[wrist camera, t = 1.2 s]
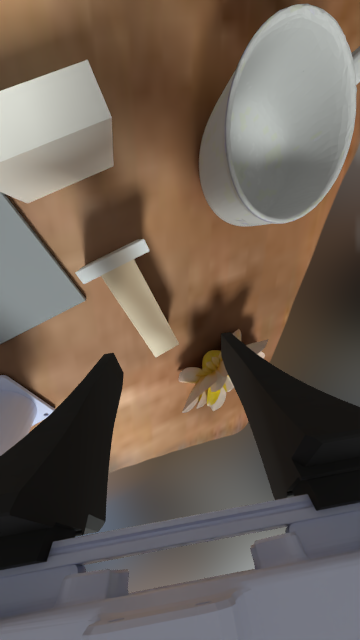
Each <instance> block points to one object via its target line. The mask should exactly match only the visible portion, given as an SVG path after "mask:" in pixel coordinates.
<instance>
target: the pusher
mask: <svg viewBox="0 0 360 640" xmlns="http://www.w3.org/2000/svg"><path fill="white" fill-rule="evenodd" d="M147 252H149V249H148V246H147V244H146V242H145V240H144V239H139V240H136V241H134V242H131V243H129V244H127V245H125V246H123V247H121V248H119V249H117V250H115V251H113V252H111V253H109V254H107V255H105V256H103V257H101V258H99V259H97V260H95V261H93V262H91V263H88V264H86V265H85V266H83V267H82V268H81V269H80V270H78V271H77V272H76V275H77V276H78V277H79V279H80V280H81V281H82V283H83V284H85V283H87V282H89V281H91V280H93V279H95V278H97V277H99V276H101V277H102V278H103V280H104V281H105V283H106V284H107V286H108V287H109V289H110V290H111V292H112V293H113V295H114V296H115V298H116V299H117V301H118V302H119V304H120V305H121V307H122V308H123V310H124V311H125V313H126V314H127V315H128V317H129V318H130V320H131V321H132V323H133V324H134V326H135V327H136V329H137V330H138V332H139V333H140V335H141V336H142V338H143V339H144V341H145V342H146V344H147V345H148V347H149V348H150V350H151V351H152V353H153V354H154V356H155V357H158V356H159V355H161V354H163V353H164V352H166V351H168V350H170V349H171V348H173V347H175V346H177V345H178V344H179V343H178V341H177V339H176V337H175V335H174V333H173V332H172V330H171V328H170V326H169V324H168V322H167V320H166V318H165V317H164V315H163V313H162V311H161V309H160V307H159V305H158V304H157V302H156V300H155V298H154V296H153V294H152V292H151V290H150V289H149V287H148V285H147V283H146V281H145V279H144V277H143V275H142V274H141V272H140V270H139V268H138V266H137V264H136V262H135V261H134V259H135V258H137V257H139V256H141V255H143V254H145V253H147Z"/></svg>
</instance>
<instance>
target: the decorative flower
mask: <svg viewBox="0 0 360 640" xmlns="http://www.w3.org/2000/svg"><path fill="white" fill-rule="evenodd" d="M233 335H234V336H235V337H237V338H238V339H239V340H240V341H241V331H240V329H238V330H236V331H235V332H234V333H233ZM267 342H268V340H264V341H261V342H256V343H251V344H248V345H246V346H247V347H248V348H250V349H251V350H252V351H254V352H255V353H256V354H258V355H259V356H260V357H262V358H263V359H264V357H265V354H264V353H263V352H261V351H262V350H263V349H264V348H265V346H266V344H267ZM179 382H185V383H196V385H195V386H194V388H193V389H192V391H191V393H190V395H189V397H188V399H187V402H186V404H185V407H184V409H183V411H182V413H185V412H189V411H190V410H191V409H192V408H193V407H194V406H195V404H196V403H197V402H198V404H197V408H200V407H202V406H203V405H204V404H205V403H206V402H207V406H210V407H211V409H212V410H213V411H215V410H217V409H218V408H220V407H221V406H222V405H223V403H224V401H225V397H226V392H230V391H231V390H232V389H233V388H234V386H233V384H232V382H231V379H230V377H229V375H228V373H227V371H226V369H225V366H224V363H223V360H222V357H221V351H218V350H211V351H209V352H207V353H206V354H205V355H204V357H203V361H202V370H201V369H200V368H195V367H189V368H186V369H184V370H182V372H181V373H180V375H179Z"/></svg>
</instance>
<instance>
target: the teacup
mask: <svg viewBox="0 0 360 640" xmlns="http://www.w3.org/2000/svg"><path fill="white" fill-rule="evenodd" d="M359 82H360V46H359V47H358V48H357V49H356V50H355V51H353V52H352V53H351V50H350V48H349V45H348V43H347V41H346V38H345V35H344V33H343V31H342V30H341V28H340V26H339V24H338V23H337V21H336V20H335V19H334V18H333V17H332V16H331V15H330V14H328V13H327V12H326V11H324V10H323V9H321V8H319V7H316V6H313V5H310V4H296V5H293V6H290V7H288V8H285V9H282V10H279V11H278V12H277V13H275V14H274V15H273V16H271V17H270V18H269V19H268V20H267V21H266V22H265V23H264V24H262V26H261V27H260V28H259V30H258V31H257V32H256V33H255V35H254V36H253V38H252V39H251V40H250V42H249V44H248V45H247V47H246V49H245V51H244V53H243V54H242V56H241V59H240V61H239V63H238V66H237V68H236V70H235V72H234V73H233V75H232V77H231V79H230V80H229V82H228V84H227V85H226V87H225V89H224V91H223V92H222V94H221V96H220V98H219V100H218V101H217V103H216V105H215V107H214V109H213V111H212V113H211V115H210V118H209V120H208V122H207V125H206V127H205V131H204V134H203V137H202V141H201V147H200V153H199V176H200V182H201V186H202V190H203V193H204V196H205V198H206V201H207V202H208V204H209V206H210V207H211V209H212V210H213V211H214V212H215V214H216V215H217V216H218V217H220V218H221V219H222V220H224V221H225V222H227V223H230V224H232V225H236V226H257V225H265V224H271V223H274V224H281V223H287V222H291V221H294V220H296V219H298V218H301V217H302V216H304V215H306V214H307V213H308V212H310V211H311V210H312V209H313V208H315V207H316V206H317V204H318V203H319V202H320V201H322V199H323V198H324V196H325V195H326V194H327V192H328V191H329V190H330V189H331V187H332V185H333V184H334V182H335V180H336V179H337V177H338V175H339V173H340V171H341V168H342V166H343V164H344V161H345V158H346V156H347V153H348V150H349V146H350V143H351V138H352V134H353V130H354V123H355V116H356V92H357V88H356V85H357V84H358V83H359Z"/></svg>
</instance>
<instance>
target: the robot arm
mask: <svg viewBox="0 0 360 640" xmlns="http://www.w3.org/2000/svg"><path fill="white" fill-rule="evenodd" d="M221 357H222V360H223V363H224V366H225V369H226V371H227V373H228V375H229V377H230V379H231V382H232V384H233V386H234V388H235V390H236V392H237V394H238V396H239V398H240V400H241V403H242V405H243V407H244V410H245V413H246V415H247V418H248V421H249V423H250V426H251V429H252V432H253V435H254V438H255V440H256V443H257V446H258V449H259V452H260V455H261V458H262V461H263V464H264V468H265V471H266V474H267V477H268V480H269V483H270V486H271V490H272V493H273V496H274V498H275V500H273V501H267V502H262V503H257V504H252V505H246V506H241V507H235V508H230V509H225V510H220V511H214V512H209V513H204V514H198V515H193V516H187V517H182V518H177V519H171V520H166V521H161V522H155V523H150V524H145V525H140V526H135V527H129V528H123V529H118V530H113V531H107V532H102V533H97V534H92V535H86V536H81V535H83V534H88V533H94V532H98V531H99V530H100V529H101V528H102V526H103V525H104V523H105V518H106V498H107V482H108V470H109V460H110V450H111V442H112V434H113V428H114V422H115V418H116V414H117V409H118V405H119V400H120V396H121V391H122V385H123V371H122V369H121V367H120V365H119V363H118V361H117V359H116V357H115V355H114V353H109V354H104V355H103V356H102V358H101V359H100V360H99V361H98V362H97V364H96V365H95V366H94V367H93V369H92V370H91V371H90V372H89V373H88V375H87V376H86V377H85V378H84V379H83V381H82V382H81V383H80V384H79V385H78V386H77V387H76V388H75V389H74V391H73V392H72V393H71V394H70V395H69V396H68V397H67V398H66V399H65V400H64V401H63V402H62V403H61V404H60V405H59V406H58V407H57V408H56V409H54V408H53V407H52V406H50V405H49V404H47V403H46V402H44V401H43V400H41V399H40V398H38V397H37V396H36V395H34V394H33V393H31V392H30V391H28V390H27V389H25V388H24V387H22V386H21V385H20V384H18V383H17V382H15V381H14V380H12V379H11V378H9V377H8V376H6V375H0V640H360V407H358V406H356V405H353V404H350V403H348V402H345V401H343V400H340V399H338V398H336V397H333V396H331V395H329V394H326V393H324V392H322V391H320V390H317V389H315V388H313V387H311V386H309V385H307V384H305V383H303V382H301V381H299V380H298V379H295V378H294V377H292V376H290V375H288V374H287V373H285V372H283V371H282V370H280V369H278V368H277V367H275V366H273V365H272V364H270V363H269V362H267V361H266V360H264V359H263V358H262V357H260V356H259V355H258V354H256V353H255V352H254V351H252V350H251V349H250V348H248V347H247V346H246V345H245V344H244V343H242V342H241V341H240V340H239V339H238V338H237V337H235V336H234V335H233V334H232V333H231V332H228V333H223V334H221ZM46 413H48V414H46ZM45 418H46V419H45ZM42 420H43V421H42ZM40 421H42V422H41V423H40V424H39V425H38V426H37V427H35V428H34V429H33V430H32V431H31V432H30V433H29V431H30V428H31V426H33V425H35V424H37V423H38V422H40ZM28 433H29V434H28ZM287 526H288V527H287ZM282 527H287V528H286V531H285V532H286V533H285V534H281V535H277V536H273V537H269V538H265V539H261V540H257V541H255V543H254V545H252V546H251V548H250V549H251V553H252V556H253V560H254V565H255V569H252V570H247V571H241V572H236V573H231V574H225V575H220V576H215V577H210V578H204V579H200V580H194V581H189V582H184V583H178V584H173V585H168V586H163V587H158V588H153V589H147V590H143V591H137V592H132V593H128V577H129V571H128V570H109V569H106V570H99V571H92V572H86V569H85V567H84V566H83V565H86V564H92V563H97V562H102V561H108V560H113V559H118V558H124V557H129V556H134V555H139V554H144V553H150V552H155V551H161V550H166V549H171V548H176V547H182V546H187V545H192V544H197V543H202V542H208V541H213V540H218V539H224V538H229V537H235V536H240V535H245V534H250V533H256V532H261V531H266V530H272V529H277V528H282ZM75 536H81V537H75Z"/></svg>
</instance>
